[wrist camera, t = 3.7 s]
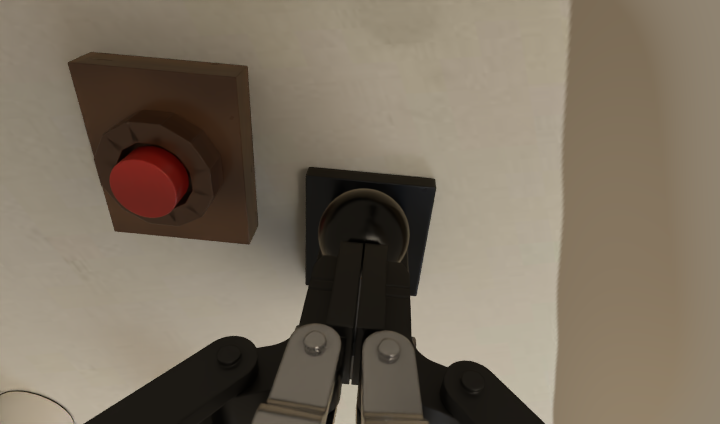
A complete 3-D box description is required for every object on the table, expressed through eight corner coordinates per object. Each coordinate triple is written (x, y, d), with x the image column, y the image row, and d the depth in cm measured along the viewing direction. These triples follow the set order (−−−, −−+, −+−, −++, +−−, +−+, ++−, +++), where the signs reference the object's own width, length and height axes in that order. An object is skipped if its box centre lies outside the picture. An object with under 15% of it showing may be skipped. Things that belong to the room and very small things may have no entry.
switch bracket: (308, 166, 29) (261, 296, 19) (435, 178, 29) (454, 316, 19) (308, 274, 34) (270, 422, 24) (415, 285, 33) (422, 439, 24)
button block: (90, 51, 26) (44, 71, 22) (247, 65, 26) (224, 88, 22) (131, 213, 32) (99, 248, 28) (258, 225, 32) (241, 262, 28)
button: (119, 142, 25) (101, 156, 23) (184, 148, 25) (170, 163, 23) (132, 198, 27) (117, 215, 25) (193, 204, 27) (181, 221, 25)
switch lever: (324, 165, 16) (309, 237, 14) (415, 173, 16) (415, 247, 14) (327, 326, 25) (318, 384, 23) (385, 332, 25) (382, 391, 23)
